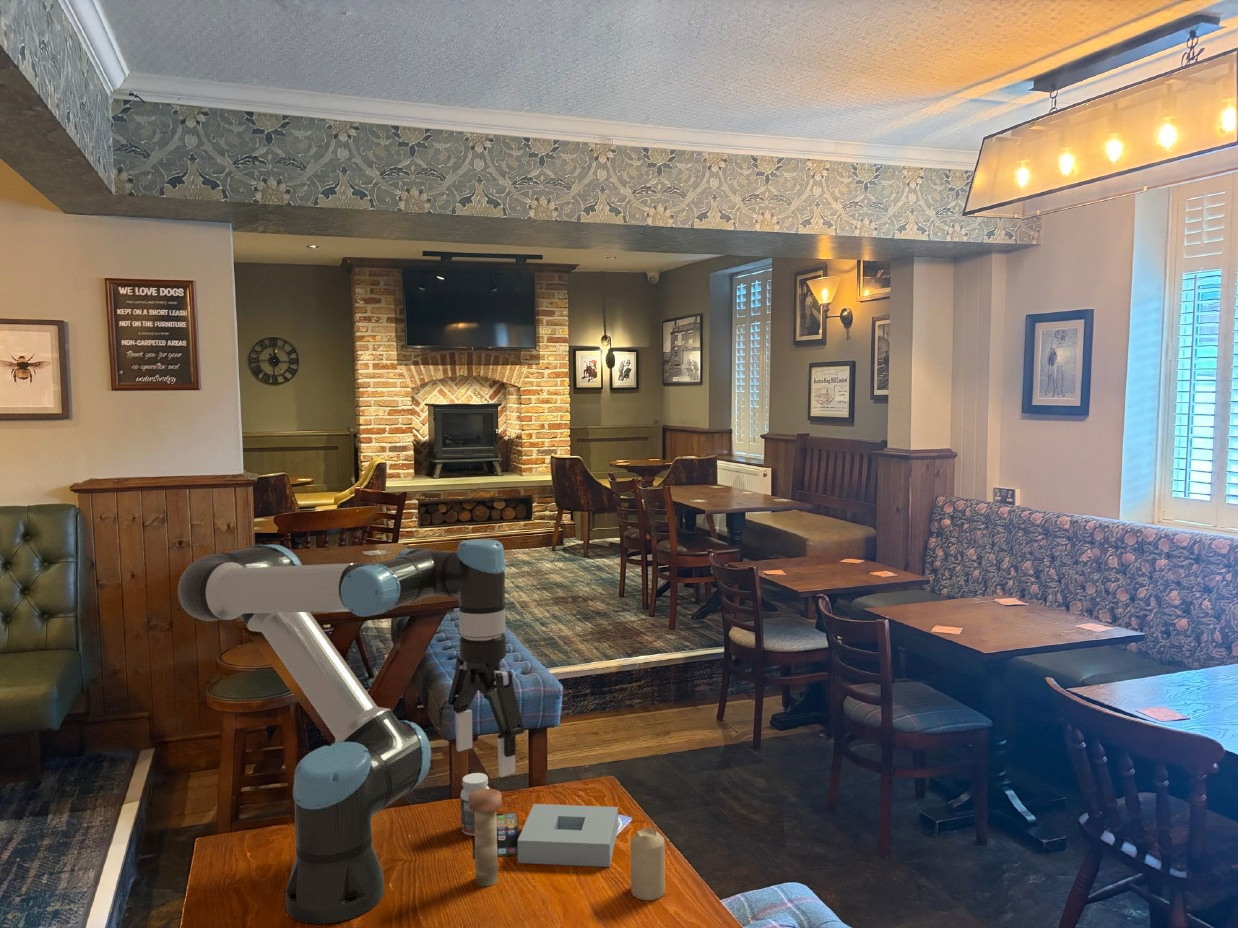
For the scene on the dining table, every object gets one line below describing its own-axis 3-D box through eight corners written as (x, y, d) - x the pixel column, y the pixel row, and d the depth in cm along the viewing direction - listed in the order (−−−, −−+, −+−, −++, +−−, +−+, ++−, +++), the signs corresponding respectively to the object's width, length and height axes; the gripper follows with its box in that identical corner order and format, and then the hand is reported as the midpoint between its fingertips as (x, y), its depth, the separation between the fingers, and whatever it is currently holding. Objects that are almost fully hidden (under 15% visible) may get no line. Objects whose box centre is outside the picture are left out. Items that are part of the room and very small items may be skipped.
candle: (662, 902, 137) (661, 841, 136) (628, 898, 138) (627, 838, 137) (667, 883, 142) (666, 824, 141) (634, 880, 143) (633, 822, 143)
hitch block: (518, 862, 149) (517, 840, 149) (533, 824, 163) (533, 803, 163) (609, 866, 148) (609, 843, 147) (618, 827, 161) (617, 806, 161)
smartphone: (474, 861, 151) (474, 854, 151) (475, 820, 165) (475, 814, 165) (520, 857, 152) (520, 850, 152) (517, 817, 167) (517, 811, 167)
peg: (466, 888, 141) (464, 802, 140) (475, 871, 146) (473, 787, 146) (498, 890, 141) (497, 803, 140) (506, 872, 146) (504, 789, 145)
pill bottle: (467, 821, 165) (466, 770, 164) (496, 823, 164) (494, 772, 163) (456, 835, 159) (455, 783, 158) (486, 837, 158) (484, 785, 157)
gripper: (545, 645, 134) (546, 779, 135) (465, 617, 153) (467, 734, 154) (503, 654, 129) (505, 792, 130) (426, 624, 148) (429, 744, 150)
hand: (484, 761), depth 142 cm, fingers open, 13 cm apart
